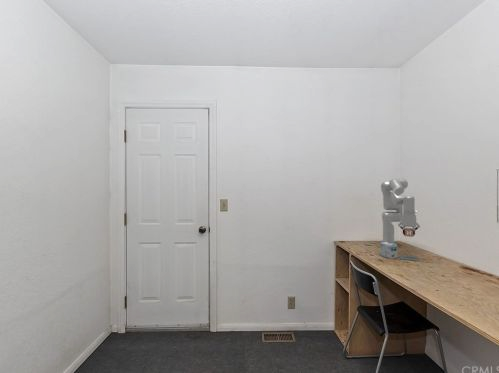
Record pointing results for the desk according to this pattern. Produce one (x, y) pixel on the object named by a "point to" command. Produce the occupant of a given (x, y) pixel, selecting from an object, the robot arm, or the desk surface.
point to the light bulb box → (388, 250)
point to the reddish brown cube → (409, 232)
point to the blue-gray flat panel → (408, 258)
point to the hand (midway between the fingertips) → (408, 235)
